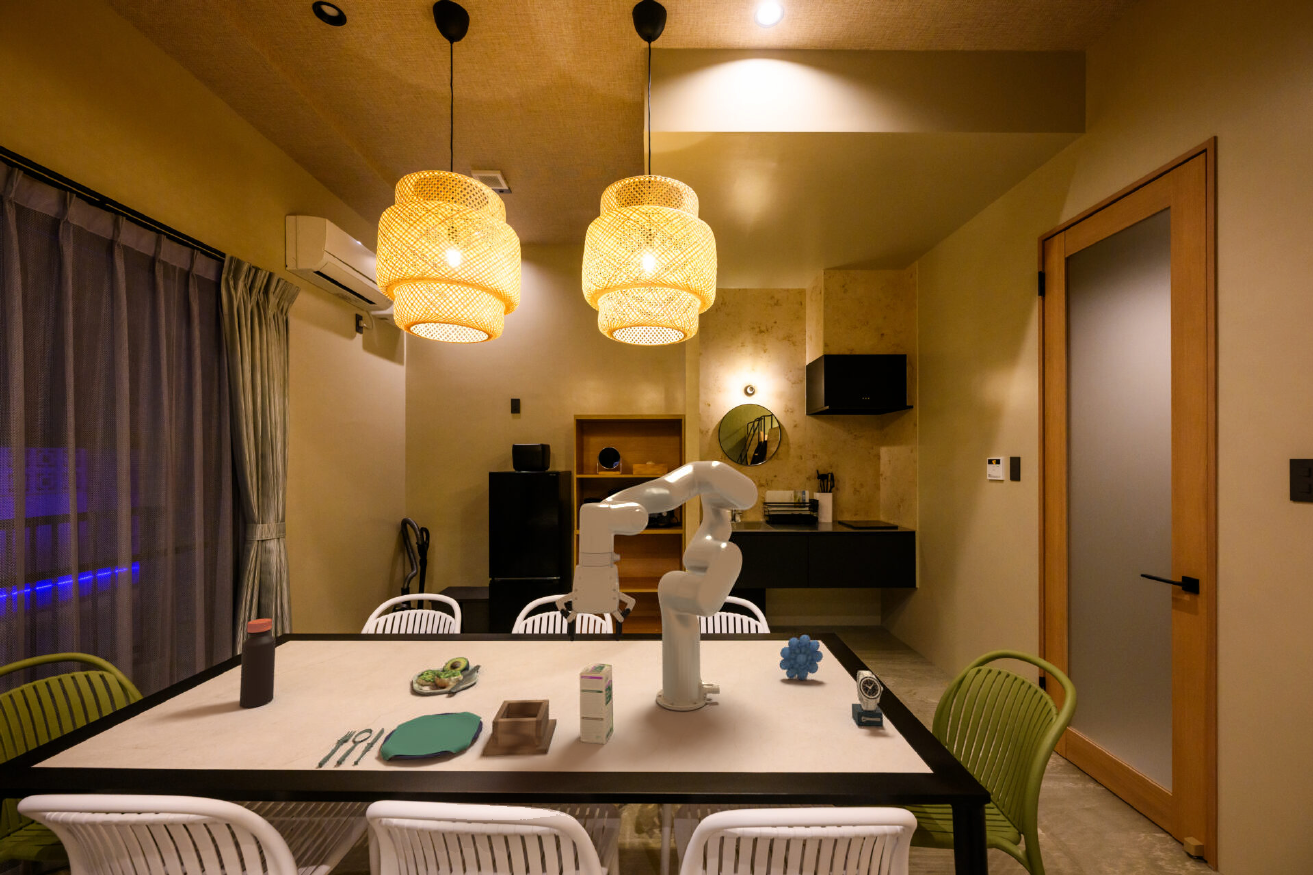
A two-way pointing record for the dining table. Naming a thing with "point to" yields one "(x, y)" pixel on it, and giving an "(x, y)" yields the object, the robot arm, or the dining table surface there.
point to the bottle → (257, 665)
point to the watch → (867, 701)
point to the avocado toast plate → (447, 677)
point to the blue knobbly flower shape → (800, 657)
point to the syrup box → (596, 703)
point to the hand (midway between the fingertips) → (595, 639)
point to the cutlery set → (420, 737)
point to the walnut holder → (521, 729)
